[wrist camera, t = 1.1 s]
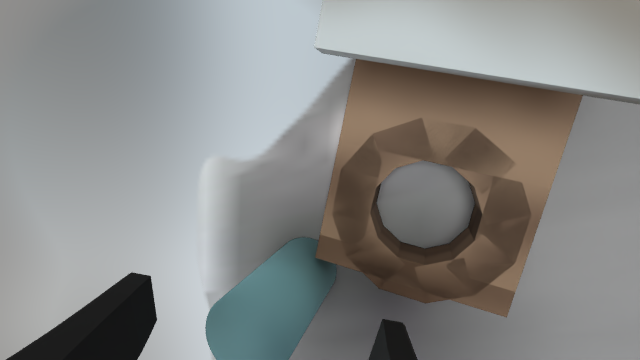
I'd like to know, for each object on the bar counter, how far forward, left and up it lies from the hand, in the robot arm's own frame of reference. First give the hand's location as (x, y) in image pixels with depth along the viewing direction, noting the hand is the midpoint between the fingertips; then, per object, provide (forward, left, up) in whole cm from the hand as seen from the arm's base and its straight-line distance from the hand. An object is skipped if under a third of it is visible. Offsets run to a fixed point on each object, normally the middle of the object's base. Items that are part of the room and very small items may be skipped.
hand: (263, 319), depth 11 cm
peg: (-3, +2, -11) cm, 12 cm away
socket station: (+6, -4, -11) cm, 13 cm away
